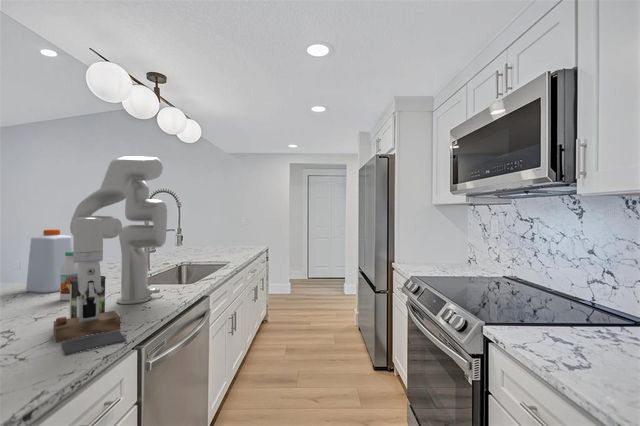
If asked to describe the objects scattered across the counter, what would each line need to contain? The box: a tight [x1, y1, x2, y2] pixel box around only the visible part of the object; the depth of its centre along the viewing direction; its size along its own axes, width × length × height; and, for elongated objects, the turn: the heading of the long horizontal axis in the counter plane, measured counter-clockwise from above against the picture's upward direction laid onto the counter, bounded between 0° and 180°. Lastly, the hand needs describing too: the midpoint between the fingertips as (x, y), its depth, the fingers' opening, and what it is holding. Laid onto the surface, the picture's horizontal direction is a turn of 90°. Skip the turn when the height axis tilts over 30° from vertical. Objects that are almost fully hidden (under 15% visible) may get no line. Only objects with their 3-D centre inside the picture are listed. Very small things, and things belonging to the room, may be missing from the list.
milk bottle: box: [59, 251, 78, 301], centre depth 137 cm, size 8×8×20 cm
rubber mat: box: [61, 330, 127, 357], centre depth 93 cm, size 14×9×1 cm, turn 133°
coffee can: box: [69, 275, 106, 319], centre depth 113 cm, size 10×10×14 cm
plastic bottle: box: [25, 228, 73, 294], centre depth 152 cm, size 15×15×28 cm
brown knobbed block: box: [53, 310, 121, 343], centre depth 101 cm, size 16×8×6 cm, turn 133°
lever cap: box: [77, 293, 99, 323], centre depth 101 cm, size 5×5×8 cm
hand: (87, 314), depth 101 cm, fingers closed on lever cap, 5 cm apart
